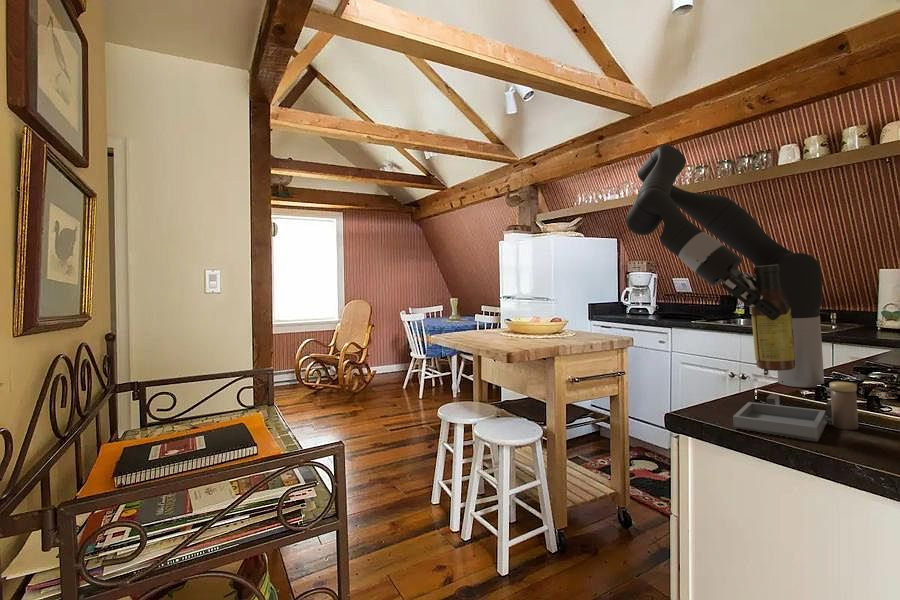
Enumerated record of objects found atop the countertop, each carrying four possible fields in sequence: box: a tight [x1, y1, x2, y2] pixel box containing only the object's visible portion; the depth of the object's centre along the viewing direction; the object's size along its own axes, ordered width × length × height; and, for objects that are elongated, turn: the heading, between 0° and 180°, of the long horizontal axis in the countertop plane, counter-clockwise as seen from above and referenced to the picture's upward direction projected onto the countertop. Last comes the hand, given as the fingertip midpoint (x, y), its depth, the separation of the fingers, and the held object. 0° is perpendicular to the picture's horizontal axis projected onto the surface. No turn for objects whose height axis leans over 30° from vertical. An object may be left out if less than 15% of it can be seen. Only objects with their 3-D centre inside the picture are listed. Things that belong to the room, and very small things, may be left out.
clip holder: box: [765, 393, 832, 422], centre depth 91 cm, size 5×13×3 cm, turn 44°
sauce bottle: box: [750, 265, 795, 372], centre depth 84 cm, size 7×6×20 cm
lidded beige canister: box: [828, 381, 859, 431], centre depth 82 cm, size 4×4×8 cm
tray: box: [732, 401, 828, 443], centre depth 85 cm, size 12×13×2 cm
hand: (781, 314), depth 83 cm, fingers closed on sauce bottle, 6 cm apart
